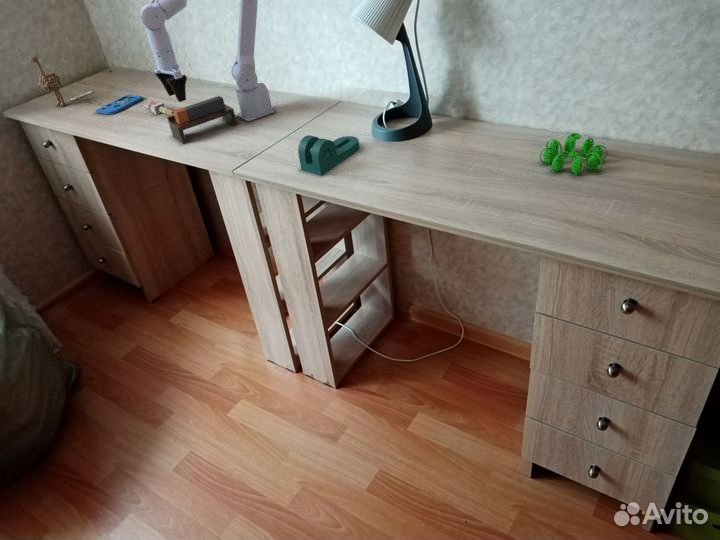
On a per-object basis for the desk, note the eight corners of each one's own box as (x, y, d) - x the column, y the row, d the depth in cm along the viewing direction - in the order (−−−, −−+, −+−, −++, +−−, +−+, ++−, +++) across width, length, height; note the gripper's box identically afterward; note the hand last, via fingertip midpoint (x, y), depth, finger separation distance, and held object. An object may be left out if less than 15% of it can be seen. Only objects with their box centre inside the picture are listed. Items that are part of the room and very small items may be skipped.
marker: (221, 106, 171) (218, 95, 169) (225, 108, 169) (222, 97, 167) (176, 121, 165) (172, 110, 163) (179, 124, 163) (176, 113, 161)
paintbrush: (148, 96, 191) (181, 109, 180) (151, 104, 193) (183, 117, 182) (138, 100, 189) (171, 114, 178) (141, 108, 191) (173, 122, 180)
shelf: (226, 117, 177) (221, 98, 173) (237, 124, 172) (232, 104, 168) (173, 136, 169) (166, 116, 166) (183, 143, 164) (176, 124, 160)
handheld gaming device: (94, 109, 192) (126, 93, 202) (95, 112, 193) (127, 96, 203) (111, 111, 189) (142, 95, 199) (112, 114, 190) (143, 98, 200)
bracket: (321, 175, 139) (316, 146, 134) (301, 170, 143) (296, 141, 138) (364, 146, 150) (361, 118, 145) (345, 142, 153) (341, 114, 148)
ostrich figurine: (57, 110, 200) (34, 59, 189) (47, 107, 203) (24, 57, 192) (97, 93, 210) (78, 44, 199) (88, 91, 213) (68, 43, 202)
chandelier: (525, 164, 133) (527, 137, 129) (565, 143, 139) (568, 116, 135) (579, 185, 123) (584, 156, 119) (619, 161, 129) (625, 133, 125)
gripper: (140, 50, 160) (156, 96, 169) (158, 59, 151) (173, 107, 159) (163, 43, 163) (177, 89, 172) (182, 52, 154) (196, 100, 162)
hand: (177, 97), depth 165 cm, fingers open, 7 cm apart
